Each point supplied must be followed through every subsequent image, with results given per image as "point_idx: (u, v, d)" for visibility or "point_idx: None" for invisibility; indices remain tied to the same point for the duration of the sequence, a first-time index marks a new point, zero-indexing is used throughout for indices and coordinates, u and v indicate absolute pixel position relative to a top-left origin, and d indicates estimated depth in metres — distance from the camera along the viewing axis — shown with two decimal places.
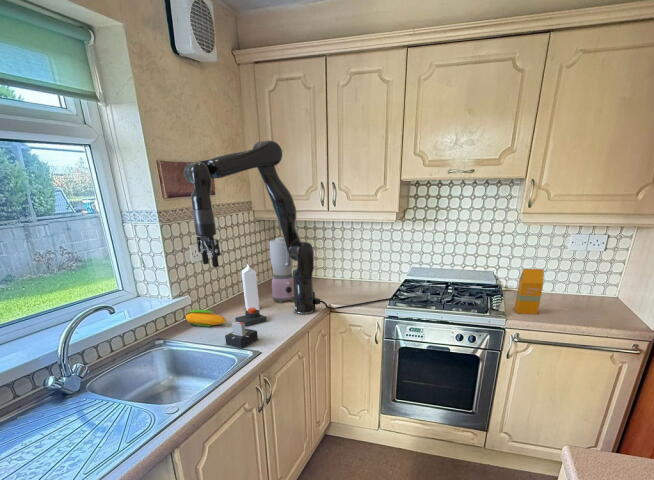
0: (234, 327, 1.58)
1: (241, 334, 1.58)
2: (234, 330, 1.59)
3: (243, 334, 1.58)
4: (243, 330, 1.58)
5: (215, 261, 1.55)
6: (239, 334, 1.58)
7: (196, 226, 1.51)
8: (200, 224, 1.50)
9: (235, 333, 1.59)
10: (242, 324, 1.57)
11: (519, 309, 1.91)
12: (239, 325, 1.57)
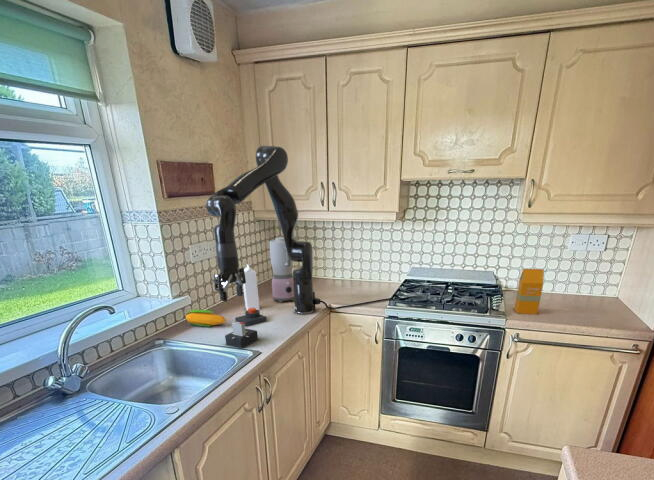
0: (234, 327, 1.58)
1: (241, 334, 1.58)
2: (234, 330, 1.59)
3: (243, 334, 1.58)
4: (243, 330, 1.58)
5: (221, 295, 1.50)
6: (239, 334, 1.58)
7: None
8: None
9: (235, 333, 1.59)
10: (242, 324, 1.57)
11: (519, 309, 1.90)
12: (239, 325, 1.57)
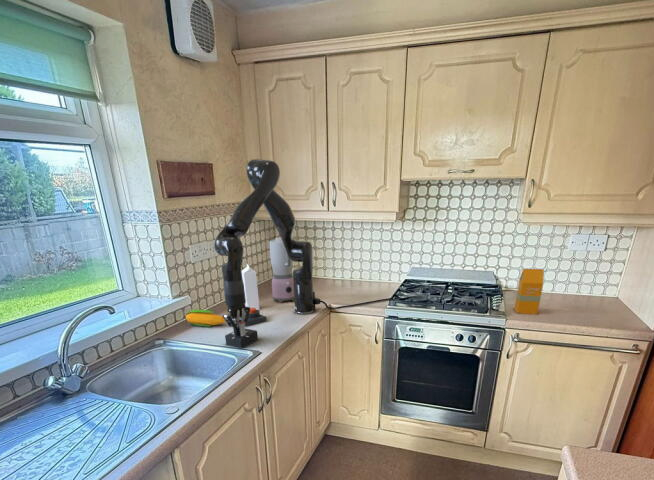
0: None
1: (241, 334, 1.58)
2: None
3: (243, 334, 1.58)
4: (243, 330, 1.58)
5: (234, 331, 1.57)
6: None
7: None
8: (224, 293, 1.52)
9: None
10: (242, 324, 1.57)
11: (519, 309, 1.90)
12: (239, 325, 1.57)
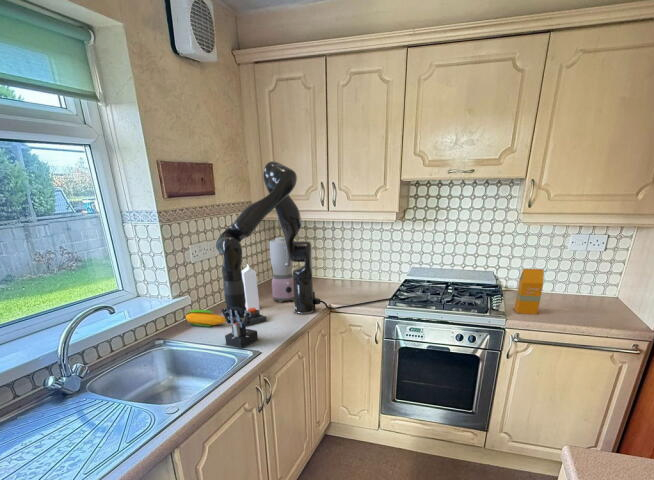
0: None
1: None
2: None
3: (235, 335, 1.58)
4: (235, 331, 1.57)
5: None
6: None
7: None
8: None
9: None
10: (234, 325, 1.56)
11: (519, 309, 1.90)
12: None
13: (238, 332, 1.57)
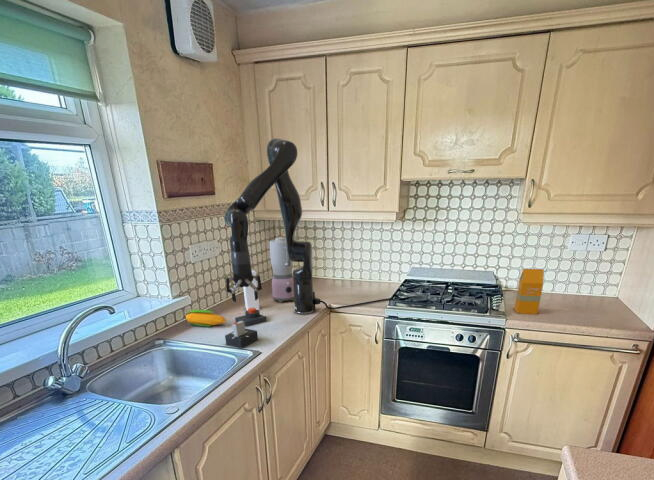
0: None
1: None
2: None
3: (235, 335, 1.58)
4: (235, 331, 1.57)
5: (232, 296, 1.69)
6: None
7: None
8: None
9: None
10: (234, 325, 1.56)
11: (519, 309, 1.90)
12: None
13: (238, 332, 1.57)
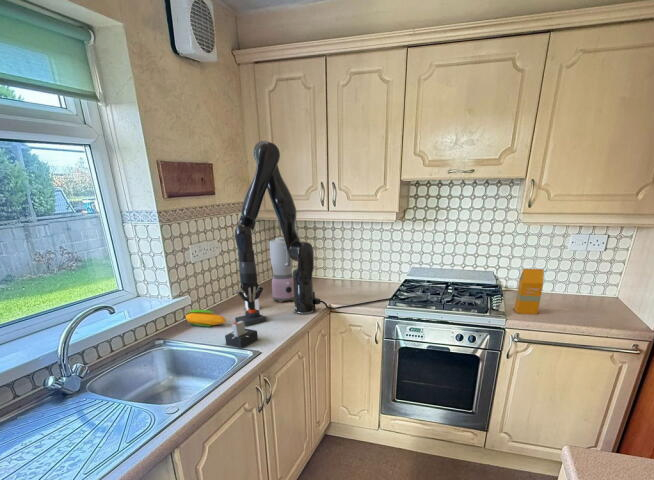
0: None
1: None
2: None
3: (235, 335, 1.58)
4: (235, 331, 1.57)
5: (248, 305, 1.85)
6: None
7: None
8: None
9: None
10: (234, 325, 1.56)
11: (519, 309, 1.91)
12: None
13: (238, 332, 1.57)
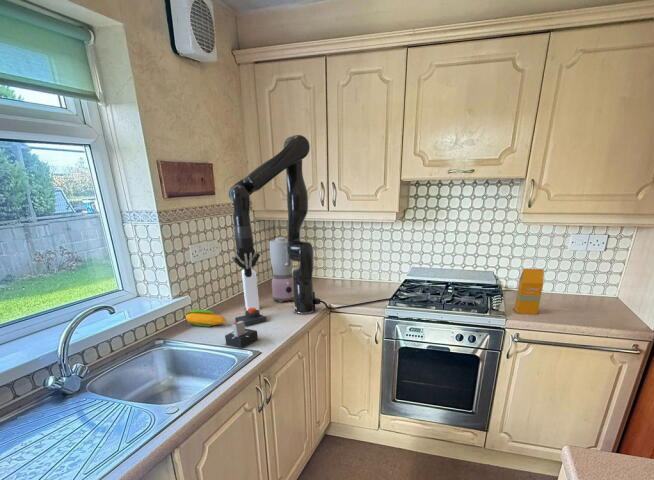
0: None
1: None
2: None
3: (235, 335, 1.58)
4: (235, 331, 1.57)
5: (244, 272, 1.80)
6: None
7: None
8: None
9: None
10: (234, 325, 1.56)
11: (519, 309, 1.90)
12: None
13: (238, 332, 1.57)
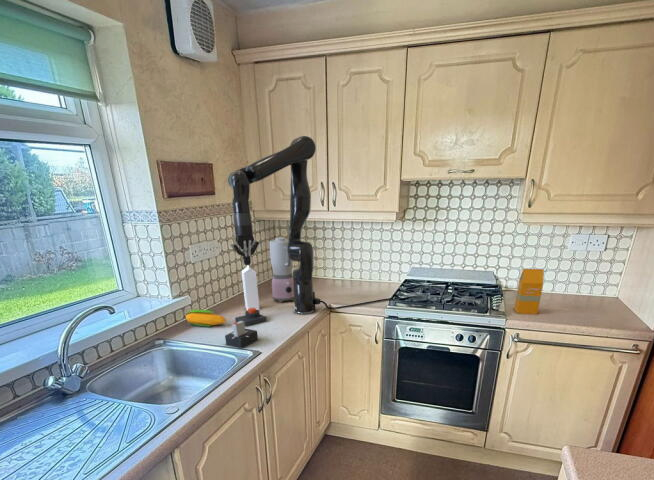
0: None
1: None
2: None
3: (235, 335, 1.58)
4: (235, 331, 1.57)
5: (243, 260, 1.78)
6: None
7: None
8: None
9: None
10: (234, 325, 1.56)
11: (519, 309, 1.91)
12: None
13: (238, 332, 1.57)
